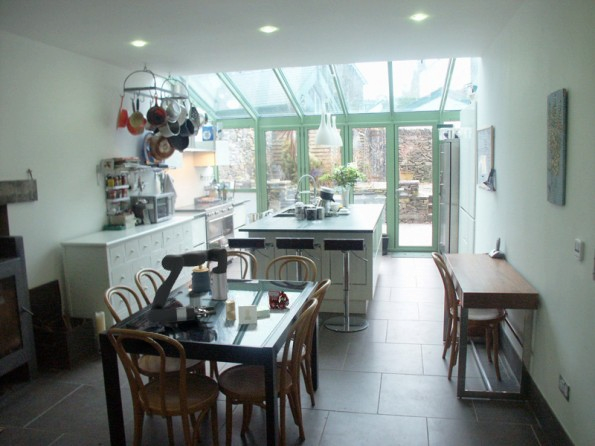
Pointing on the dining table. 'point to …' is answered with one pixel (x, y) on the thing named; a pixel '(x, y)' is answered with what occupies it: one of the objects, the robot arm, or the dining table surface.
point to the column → (230, 310)
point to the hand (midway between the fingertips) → (215, 310)
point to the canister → (201, 279)
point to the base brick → (263, 311)
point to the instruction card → (247, 314)
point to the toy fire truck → (275, 297)
